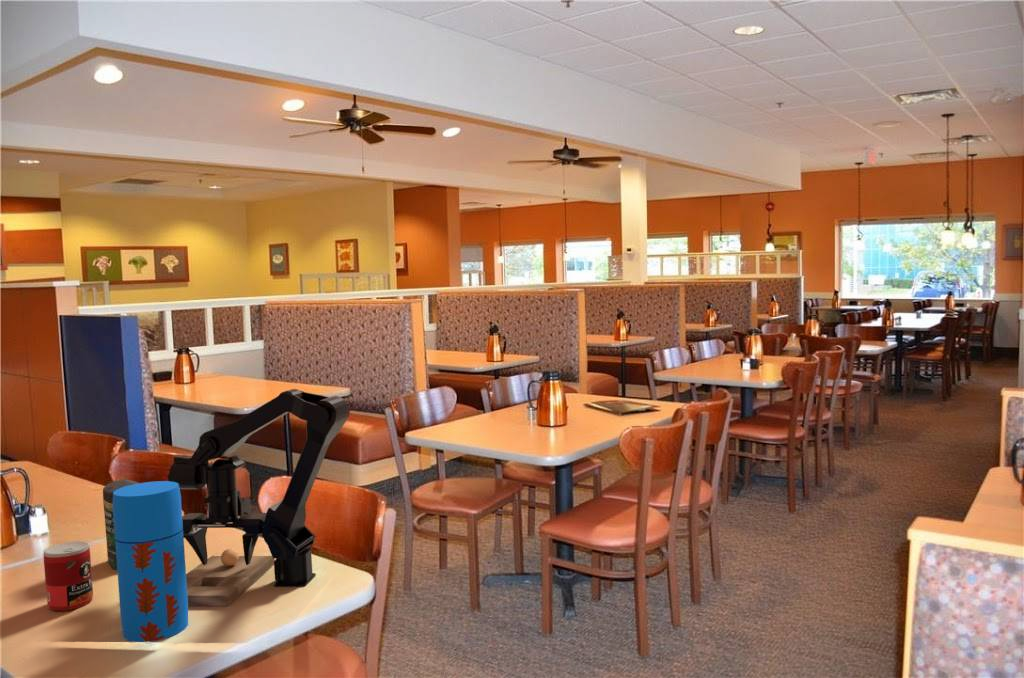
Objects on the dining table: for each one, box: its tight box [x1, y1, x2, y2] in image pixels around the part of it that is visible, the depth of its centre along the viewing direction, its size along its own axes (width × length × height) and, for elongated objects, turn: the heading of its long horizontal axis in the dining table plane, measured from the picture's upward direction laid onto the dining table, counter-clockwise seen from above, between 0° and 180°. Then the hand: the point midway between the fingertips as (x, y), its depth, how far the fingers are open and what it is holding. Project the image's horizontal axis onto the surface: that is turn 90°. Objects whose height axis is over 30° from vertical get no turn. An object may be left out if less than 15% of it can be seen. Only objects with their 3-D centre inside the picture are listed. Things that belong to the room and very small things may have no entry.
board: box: [186, 555, 276, 607], centre depth 162 cm, size 14×22×2 cm, turn 174°
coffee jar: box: [102, 478, 140, 571], centre depth 175 cm, size 10×8×19 cm
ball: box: [220, 548, 240, 566], centre depth 167 cm, size 4×4×4 cm
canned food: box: [42, 540, 94, 612], centre depth 154 cm, size 8×8×11 cm
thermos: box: [113, 480, 189, 643], centre depth 140 cm, size 11×11×25 cm
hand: (226, 564), depth 165 cm, fingers open, 9 cm apart
